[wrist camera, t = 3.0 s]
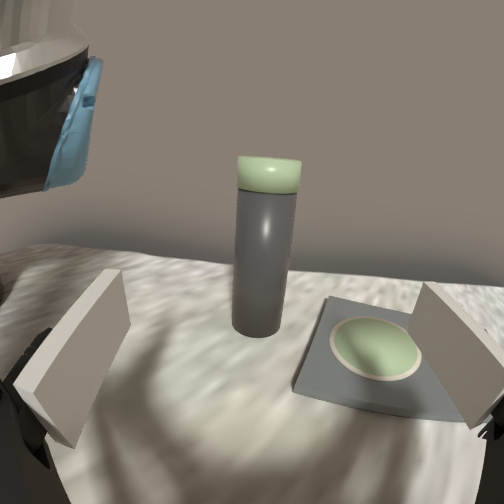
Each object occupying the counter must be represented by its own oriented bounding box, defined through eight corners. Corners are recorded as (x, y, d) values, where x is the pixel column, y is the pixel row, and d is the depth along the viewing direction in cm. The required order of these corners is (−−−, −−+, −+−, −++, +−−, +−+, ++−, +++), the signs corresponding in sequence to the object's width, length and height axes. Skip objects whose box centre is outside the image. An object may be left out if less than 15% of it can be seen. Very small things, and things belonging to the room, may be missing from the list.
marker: (221, 328, 22) (226, 156, 17) (243, 303, 25) (253, 155, 20) (271, 344, 20) (292, 162, 15) (287, 316, 24) (307, 161, 19)
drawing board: (292, 392, 16) (295, 382, 15) (327, 302, 26) (329, 294, 26) (512, 422, 10) (519, 414, 9) (482, 335, 20) (486, 328, 20)
